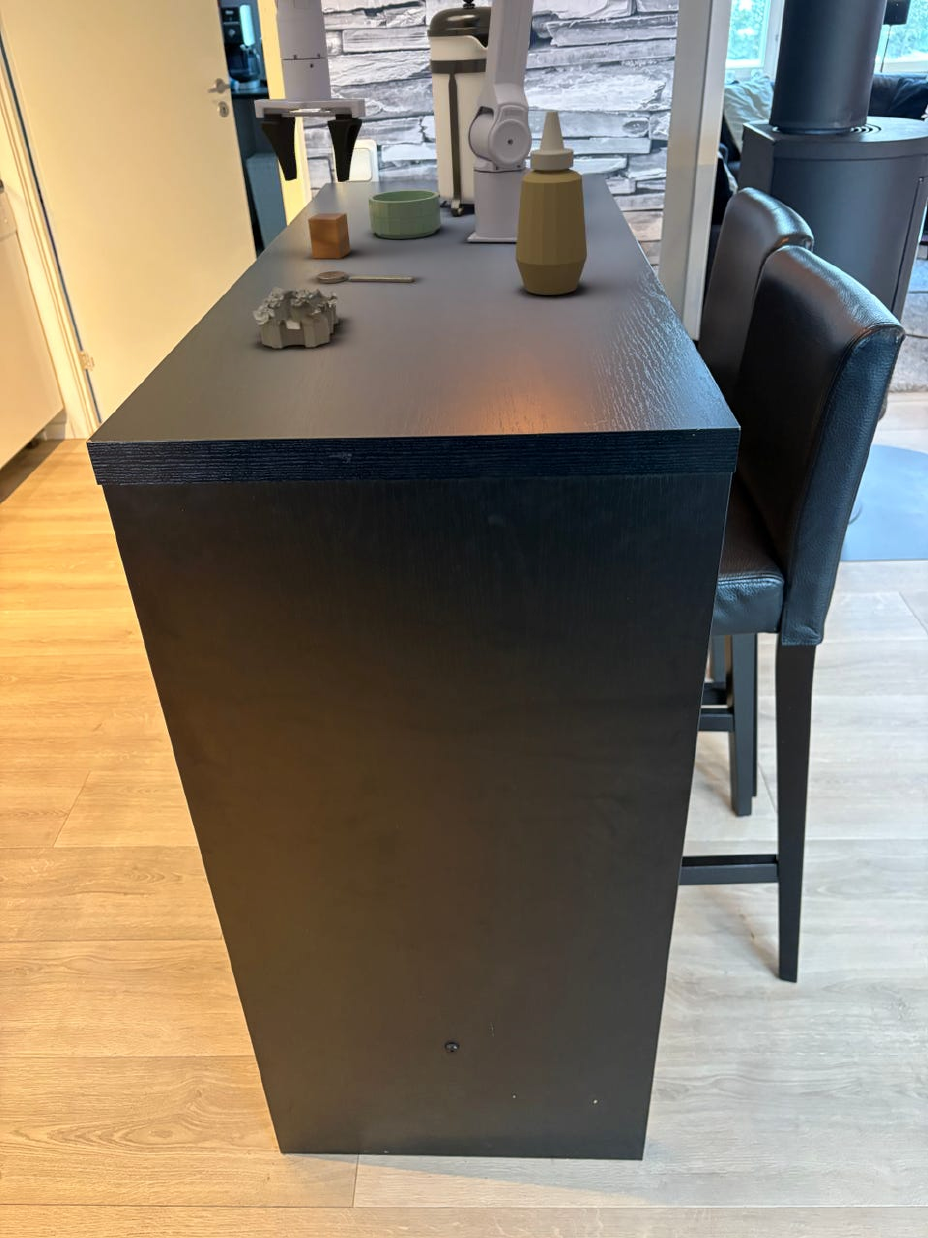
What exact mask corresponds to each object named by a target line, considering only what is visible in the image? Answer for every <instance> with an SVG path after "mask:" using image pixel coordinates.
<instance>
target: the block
mask: <svg viewBox="0 0 928 1238" xmlns="http://www.w3.org/2000/svg"><path fill="white" fill-rule="evenodd" d="M347 216H348V214H347V212H344V213H343V212H320V213H317V214H316V215H313V216H312V217H309V218H308V219H307V221H308V231H309V238H310V245H311V252H312V258H313V259H330V260H331V259H332V260H334V259H336V260H338V259H339V260H341V259H342V258H344V257H345V256H347V255H348V254H350V253H351V252H352V251H351V243H350V242H351V241H350V234H349V233H350V232H349V224H348V217H347Z"/></svg>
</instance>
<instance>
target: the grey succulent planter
mask: <svg viewBox="0 0 928 1238" xmlns="http://www.w3.org/2000/svg"><path fill="white" fill-rule="evenodd" d="M338 302H339V298H338V295H337V293H336V292H335V291H331V292H330V294H329V295H325V294H323V293H322V292H321V291H320V289H319V288H317V289H316V290H312V291H311V290H309V289H297V288H296V287H294V288H293V289H292V290H290V289H284V288H282V287H277V286H274V287H272V290H271V292H270V294H269V296H268V297H266V298H264V299H263V300H262V302H261V304H260V305H259V306H258V308H257V309H256V310H253V311H252V315H253V316H254V319H255V321H256V324H258V325H259V329H260V337H261V343H262V345H263V346H267V347H271V348H272V349H283V348H284V347H287V346H295V345H296V346H297V345H301V346H305V348H315V347H317V346H319V345H323V344H327V343H329V342H330V341H331V340H330V334H333V333H334V325H338V323H339V319H338V315H337V303H338Z"/></svg>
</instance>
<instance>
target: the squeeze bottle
mask: <svg viewBox="0 0 928 1238" xmlns="http://www.w3.org/2000/svg"><path fill="white" fill-rule="evenodd" d="M545 113H546V114H545V117H544V124H543V129H542V133H541V140H540V145H539V148H537V149H533V150H530V152H529V168H531V169H534V170H533V171H531V172H529V173H527V174H526V175H525V176H524V177H523V178H522V183H521V196H520V208H519V221H518V234H517V242H516V247H515V261H516V265H517V267H518V271H519V273H520V277H521V280H522V283H523V286H524V290H525V291H527V292H528V293H531V294H535V295H544V296H558V295H563V294H568V293H571V292H574V291H576V290H577V288H578V285H579V282H580V279H581V276H582V273H583V270H584V268H585V267H584V266H585V264H586V261H587V259H588V246H587V233H586V219H585V218H586V217H585V205H584V204H585V202H584V190H583V189H584V188H583V176H582V175H581V174H580V173H579V172H578V171H576V170H574V169H571V168H573V167H574V161H575V159H574V158H575V155H574V153H575V149H572V148H567V147H565V143H564V138H563V134H562V127H561V122H560V117H559V111H557V110H550V111H546V112H545Z"/></svg>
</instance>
